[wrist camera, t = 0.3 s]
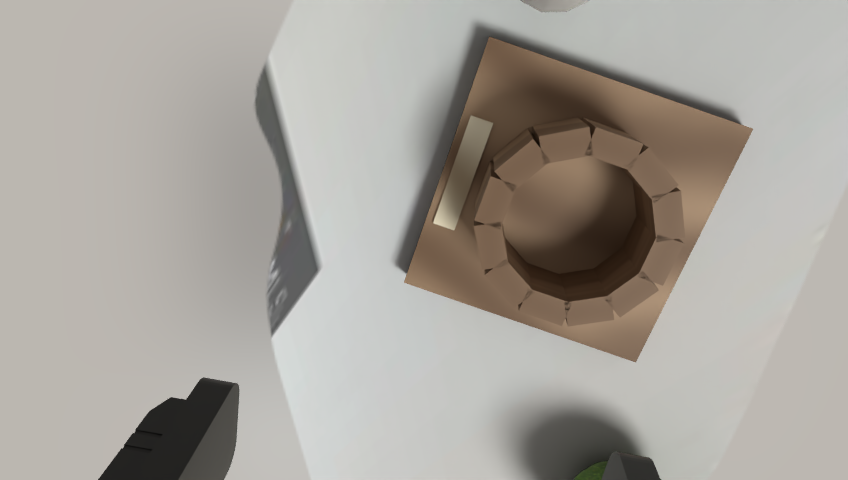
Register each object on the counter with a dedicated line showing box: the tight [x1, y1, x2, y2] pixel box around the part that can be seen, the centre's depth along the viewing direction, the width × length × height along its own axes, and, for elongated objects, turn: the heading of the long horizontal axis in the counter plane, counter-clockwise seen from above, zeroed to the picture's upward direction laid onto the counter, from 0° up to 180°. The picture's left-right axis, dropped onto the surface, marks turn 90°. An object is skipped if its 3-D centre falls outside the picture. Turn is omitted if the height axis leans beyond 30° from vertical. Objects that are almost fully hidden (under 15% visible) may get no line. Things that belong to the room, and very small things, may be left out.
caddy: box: [404, 37, 753, 362], centre depth 37 cm, size 16×16×6 cm
